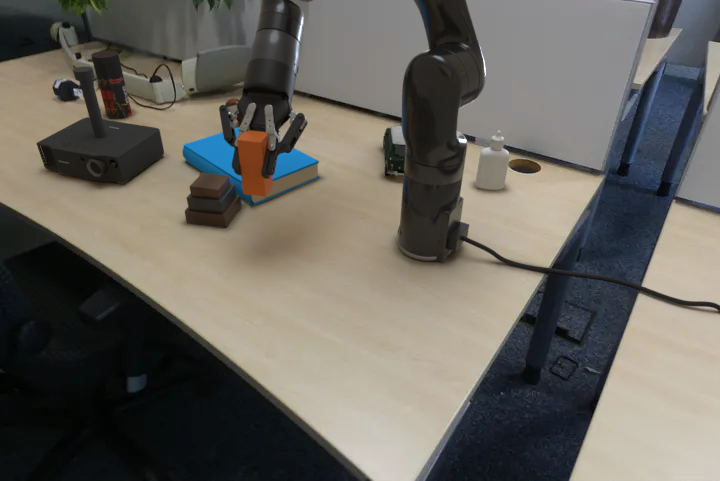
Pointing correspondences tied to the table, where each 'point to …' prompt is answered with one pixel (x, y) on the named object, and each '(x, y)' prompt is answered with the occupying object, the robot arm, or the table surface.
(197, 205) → the brown stepped pyramid
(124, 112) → the deodorant
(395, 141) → the miniature car
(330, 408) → the table surface
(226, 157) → the book
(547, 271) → the robot arm
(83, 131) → the projector
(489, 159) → the eye dropper bottle
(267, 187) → the bar
